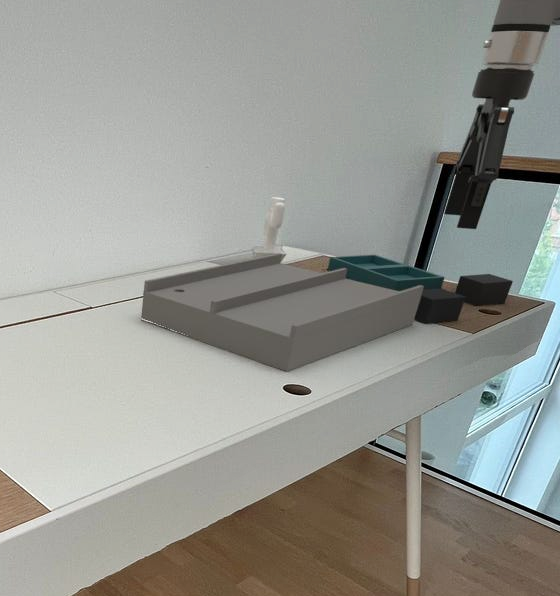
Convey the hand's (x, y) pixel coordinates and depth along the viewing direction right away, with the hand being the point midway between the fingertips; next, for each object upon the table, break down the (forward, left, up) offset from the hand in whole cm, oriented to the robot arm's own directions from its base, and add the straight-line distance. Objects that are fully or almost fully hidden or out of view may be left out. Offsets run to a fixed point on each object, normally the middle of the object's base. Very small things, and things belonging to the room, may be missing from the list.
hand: (459, 221), depth 112 cm
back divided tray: (+32, -18, -18) cm, 41 cm away
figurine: (+50, +1, -19) cm, 53 cm away
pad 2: (+13, -27, -18) cm, 35 cm away
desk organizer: (+11, +24, -19) cm, 32 cm away
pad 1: (+6, -7, -18) cm, 21 cm away
